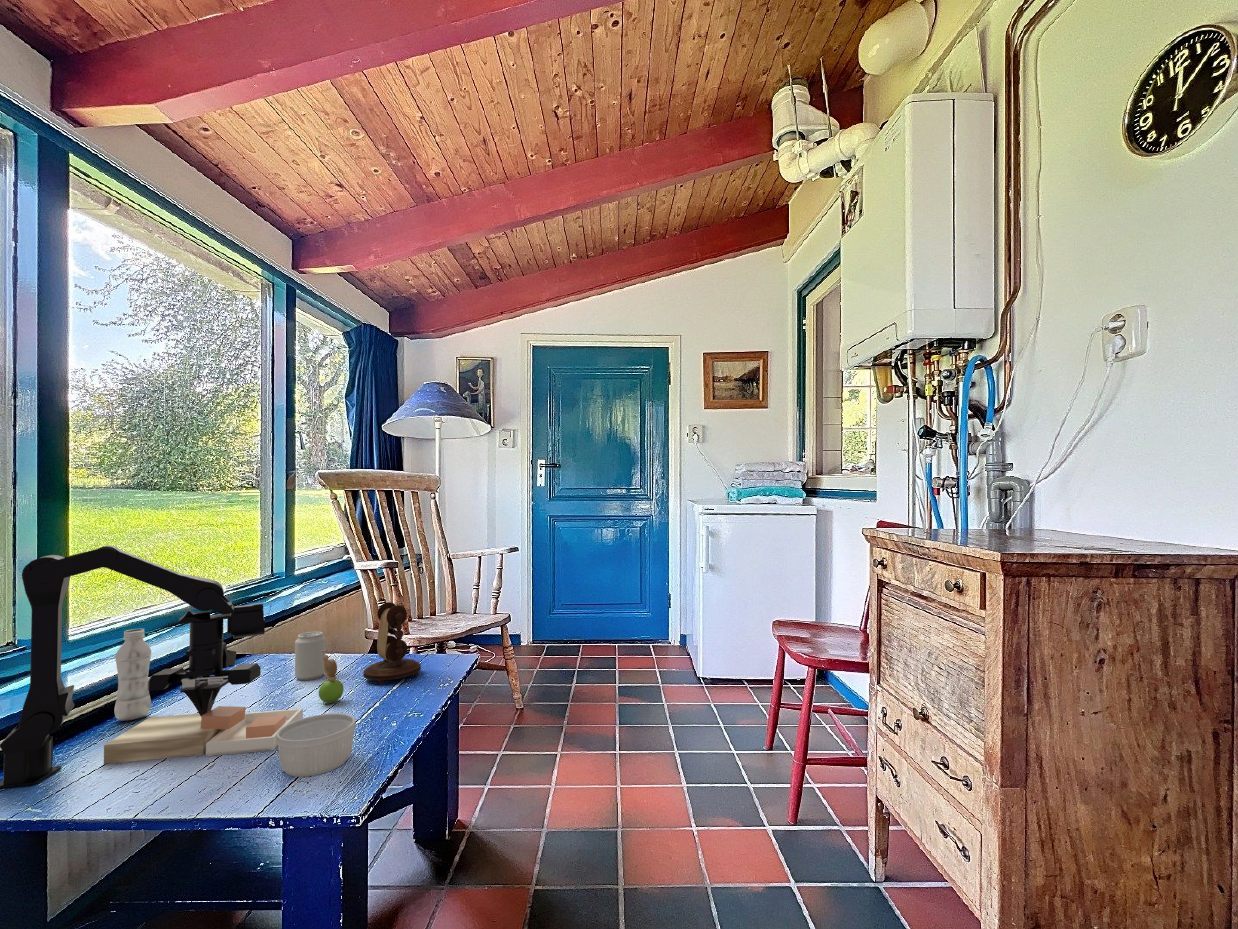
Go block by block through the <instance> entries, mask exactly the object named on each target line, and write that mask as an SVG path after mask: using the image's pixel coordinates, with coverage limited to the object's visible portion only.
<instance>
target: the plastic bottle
mask: <svg viewBox="0 0 1238 929" xmlns="http://www.w3.org/2000/svg"><path fill="white" fill-rule="evenodd" d="M145 637H146V635H145V628H133V629H128V630H125V631H123V637H122V640H123V641H124V642H123V644H122V645H121V646H120V647H119V648H118V650H117V651H116V653H115V656H114V657H115V664H116V671H117V684H118V686H117V694H116V700H115V703H114V704H115V705H114V710H113V711H114V717H115V718H116V719H117V721H120V722H121V721H122V722H123V721H125V722H127V721H133V720H137V719H141V718H144V717H146V716H147V715H148V714H149V713H150V711H151V708H152V699H151V695H150V691H149V690H148V680H149V670H150V665H151V663H150V662H151V659H152V658H151V657H152V649H151V646H150V645H149V644H148V643H147V642H146V641H145V640H144V638H145Z"/></svg>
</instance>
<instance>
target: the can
mask: <svg viewBox="0 0 1238 929" xmlns="http://www.w3.org/2000/svg"><path fill="white" fill-rule="evenodd" d="M323 634H324V632H323V631H308V632H302V633H299V634H298V635H297V639H295V642H294V656H295V657H294V678H297V679H298V680H300V681H312V680H316V679H319V678H321V677H322V676H323V675H325V672H324V666H323V652H322V651H323V650H324V651H325V650H326V636H324V635H323ZM324 655H326V652H324Z"/></svg>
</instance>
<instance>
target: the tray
mask: <svg viewBox="0 0 1238 929" xmlns="http://www.w3.org/2000/svg"><path fill="white" fill-rule="evenodd" d="M280 715H286V723H285V724H284V725H283V726H282V727H284V726H285V725H287V724H289V723H292V722H294V721H297V720H300V719H303V718H304V708H302V707H301V708H292V709H291V708H290V709H279V710H278V709H277V710H267V711H266V710H265V711H255V712H245V719H244V720H242V721H241V722H239V723H238V724H236V725H234V726H233V727H231V728H230V729H223V730H222V731H221V732H220V733H218V734H217V735H216V736H215V737H213V738H212V739H211V740H210V741H208V742H207V743H206V753H205V757H215V756H214V755H217V756H225V755H227V754H228V755H236V754H247V753H248V754H249V753H258V752H269V751H274V750H275V749H276V748H277V747H278V744H277V743H276V734H277V732H278V731H279V730H280V729H281V728H282V727H281V728H280V729H279V730H277V731H276V732H275V733H274V734H273V735H272V736H270V737H259V738H247V739H246V727H247V726H248V725H249V724H250V723H252V722H253V721H254V720H255V719H256V718H258V717H268V716H280Z"/></svg>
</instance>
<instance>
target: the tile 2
mask: <svg viewBox="0 0 1238 929" xmlns="http://www.w3.org/2000/svg"><path fill="white" fill-rule="evenodd" d="M285 723H286V715H280V716H268V717H258V718H256V719H255V720H254V721H253V722H252V723H250V724H249V725H248V726H247V727H246V739H247V738H259V737H270V736H272V735H273V734H274V733H275V732H276V731H277V730H279V729H280V728H281V727H282V726H283V725H284V724H285Z"/></svg>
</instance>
